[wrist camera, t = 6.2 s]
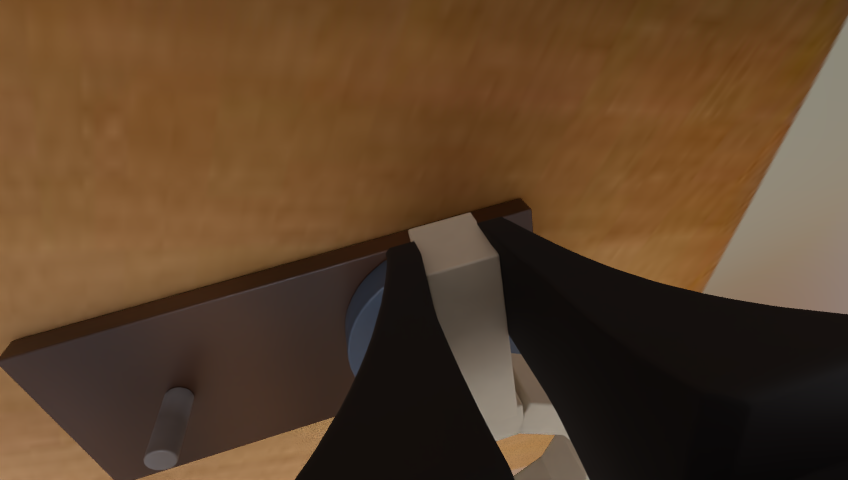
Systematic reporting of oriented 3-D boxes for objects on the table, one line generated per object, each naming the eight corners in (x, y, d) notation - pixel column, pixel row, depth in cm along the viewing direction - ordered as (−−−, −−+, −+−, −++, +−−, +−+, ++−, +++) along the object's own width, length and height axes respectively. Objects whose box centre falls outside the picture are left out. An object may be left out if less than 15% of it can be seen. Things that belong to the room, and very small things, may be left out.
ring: (396, 533, 18) (405, 592, 16) (275, 265, 11) (270, 320, 9) (588, 468, 18) (616, 518, 17) (592, 177, 11) (641, 213, 10)
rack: (126, 463, 23) (77, 599, 18) (10, 340, 19) (-99, 479, 13) (532, 336, 25) (589, 428, 20) (520, 197, 20) (591, 271, 15)
